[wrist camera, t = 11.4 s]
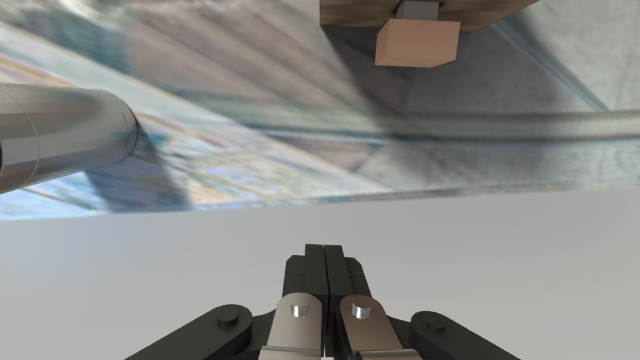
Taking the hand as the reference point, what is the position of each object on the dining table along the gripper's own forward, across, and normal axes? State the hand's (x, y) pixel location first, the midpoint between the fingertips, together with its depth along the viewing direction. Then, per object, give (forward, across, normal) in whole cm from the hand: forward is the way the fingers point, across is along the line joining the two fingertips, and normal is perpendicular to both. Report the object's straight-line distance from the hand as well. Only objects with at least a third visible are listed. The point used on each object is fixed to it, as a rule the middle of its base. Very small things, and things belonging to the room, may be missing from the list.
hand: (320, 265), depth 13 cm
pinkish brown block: (+23, -9, -15) cm, 29 cm away
